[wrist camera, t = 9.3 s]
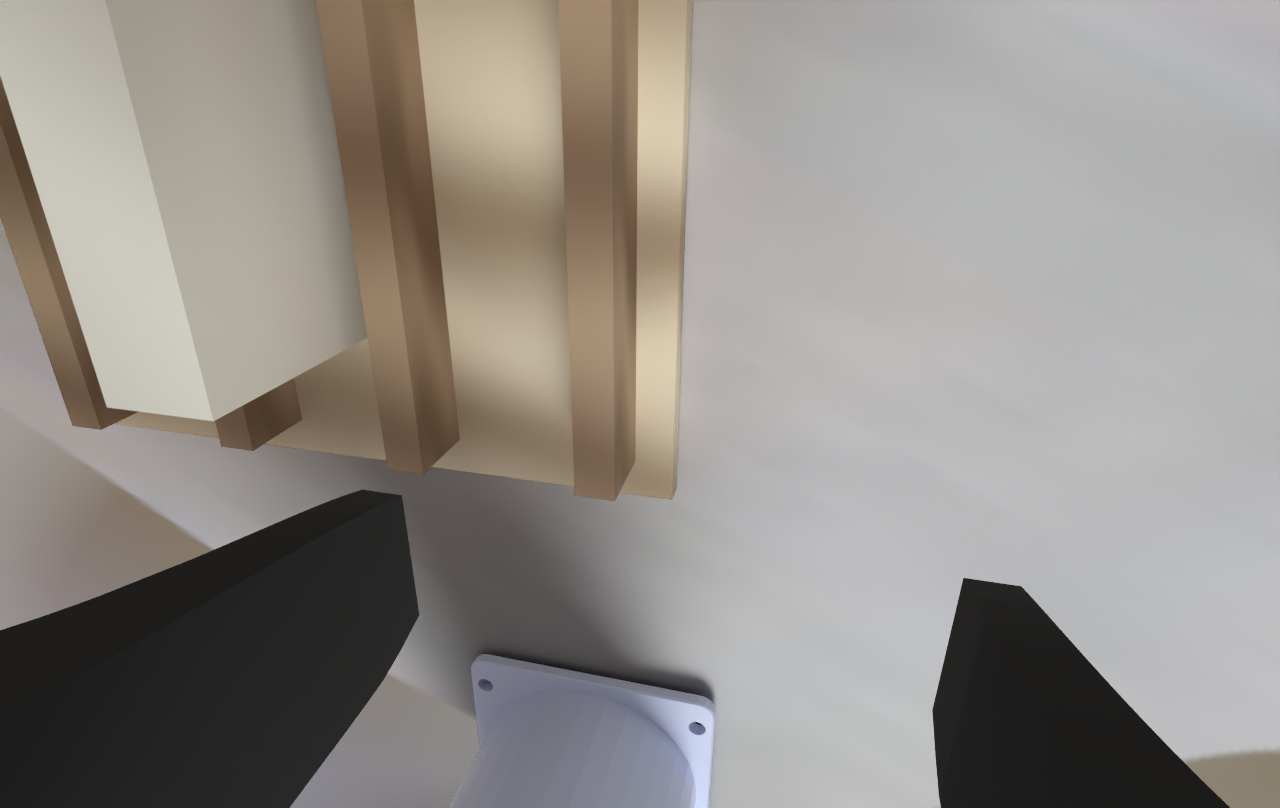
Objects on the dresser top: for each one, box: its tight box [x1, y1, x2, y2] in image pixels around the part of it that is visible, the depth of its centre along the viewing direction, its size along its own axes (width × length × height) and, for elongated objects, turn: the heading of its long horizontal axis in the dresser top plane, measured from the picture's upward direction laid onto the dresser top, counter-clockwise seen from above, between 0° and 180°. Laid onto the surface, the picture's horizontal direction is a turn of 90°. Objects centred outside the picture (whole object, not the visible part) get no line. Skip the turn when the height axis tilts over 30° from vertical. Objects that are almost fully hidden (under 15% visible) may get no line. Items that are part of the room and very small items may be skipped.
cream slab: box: [0, 0, 367, 421], centre depth 15 cm, size 8×2×6 cm, turn 0°
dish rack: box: [0, 0, 693, 501], centre depth 17 cm, size 16×18×3 cm
